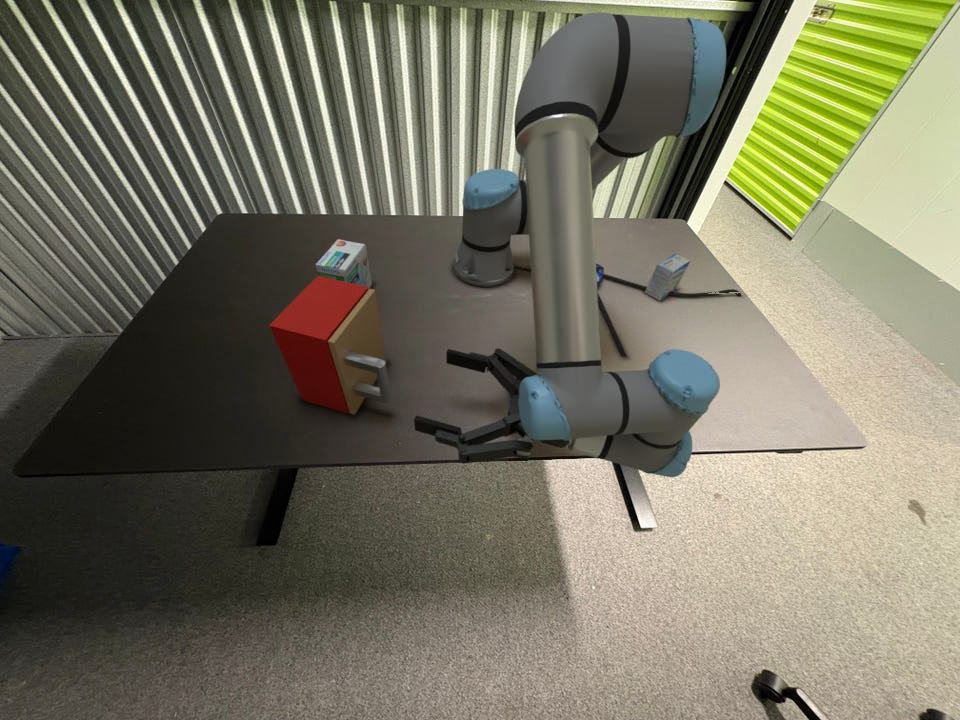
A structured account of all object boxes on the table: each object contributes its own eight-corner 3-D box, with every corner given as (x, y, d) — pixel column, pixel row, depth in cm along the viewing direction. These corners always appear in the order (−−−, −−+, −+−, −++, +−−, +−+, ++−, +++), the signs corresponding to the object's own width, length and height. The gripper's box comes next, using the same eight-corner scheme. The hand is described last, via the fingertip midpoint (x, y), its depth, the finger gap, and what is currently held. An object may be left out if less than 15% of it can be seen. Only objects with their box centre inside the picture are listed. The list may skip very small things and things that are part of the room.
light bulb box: (354, 311, 86) (345, 270, 78) (325, 306, 87) (313, 264, 79) (373, 283, 94) (366, 243, 86) (346, 278, 94) (337, 238, 86)
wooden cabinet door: (417, 370, 76) (411, 298, 63) (388, 424, 67) (375, 353, 54) (382, 361, 77) (369, 288, 64) (349, 413, 68) (327, 341, 55)
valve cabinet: (381, 361, 77) (368, 287, 64) (348, 413, 69) (325, 340, 55) (339, 350, 78) (318, 275, 65) (302, 400, 70) (268, 325, 57)
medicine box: (659, 302, 96) (674, 272, 90) (643, 292, 98) (657, 263, 92) (675, 290, 100) (691, 260, 94) (660, 281, 102) (674, 252, 96)
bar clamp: (562, 259, 101) (599, 259, 103) (560, 267, 103) (596, 267, 105) (599, 353, 81) (645, 351, 82) (596, 360, 83) (641, 359, 84)
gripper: (554, 517, 51) (401, 471, 54) (574, 378, 68) (457, 348, 71) (567, 492, 45) (396, 442, 48) (586, 347, 62) (458, 317, 65)
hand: (432, 386), depth 59 cm, fingers open, 13 cm apart
